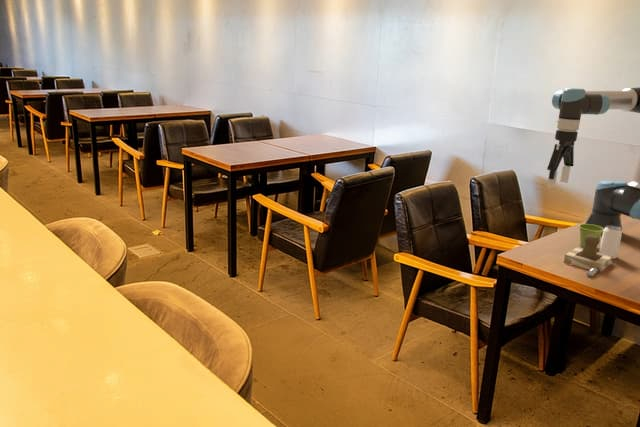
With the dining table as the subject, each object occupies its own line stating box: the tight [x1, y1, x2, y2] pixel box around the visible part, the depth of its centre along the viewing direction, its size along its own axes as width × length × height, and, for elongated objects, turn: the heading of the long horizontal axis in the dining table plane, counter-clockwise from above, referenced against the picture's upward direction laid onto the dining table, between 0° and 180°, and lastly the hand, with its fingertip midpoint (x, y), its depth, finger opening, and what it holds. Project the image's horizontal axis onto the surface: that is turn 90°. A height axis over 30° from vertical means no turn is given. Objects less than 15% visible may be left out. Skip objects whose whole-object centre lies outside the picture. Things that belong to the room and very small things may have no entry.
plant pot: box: [578, 223, 604, 248], centre depth 220 cm, size 9×9×9 cm
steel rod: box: [586, 266, 599, 278], centre depth 194 cm, size 10×2×2 cm, turn 136°
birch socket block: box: [563, 246, 613, 273], centre depth 204 cm, size 13×13×3 cm
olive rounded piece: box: [580, 235, 601, 261], centre depth 202 cm, size 6×6×11 cm
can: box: [598, 225, 623, 260], centre depth 210 cm, size 6×6×12 cm
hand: (557, 184), depth 209 cm, fingers open, 13 cm apart
